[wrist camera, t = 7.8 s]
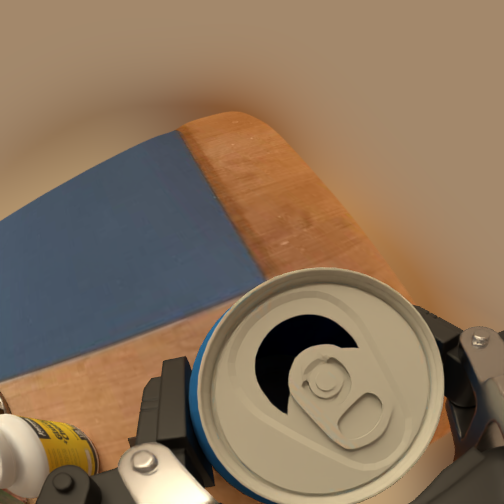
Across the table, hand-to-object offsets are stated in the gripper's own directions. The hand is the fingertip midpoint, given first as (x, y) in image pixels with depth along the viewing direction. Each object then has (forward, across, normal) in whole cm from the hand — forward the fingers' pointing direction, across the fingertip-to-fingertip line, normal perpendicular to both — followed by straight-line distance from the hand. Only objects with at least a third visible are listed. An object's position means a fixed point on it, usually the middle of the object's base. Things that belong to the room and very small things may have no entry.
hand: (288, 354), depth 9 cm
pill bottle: (+8, +19, +13) cm, 24 cm away
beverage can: (+5, 0, +7) cm, 9 cm away
